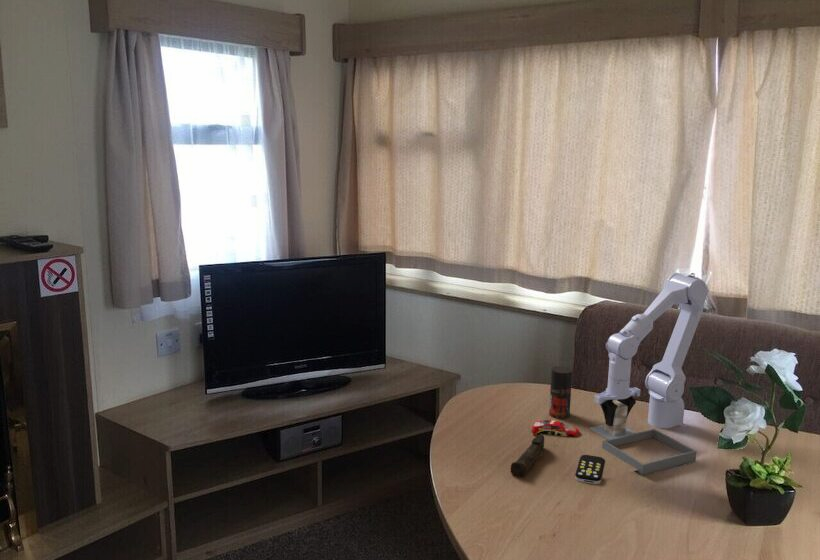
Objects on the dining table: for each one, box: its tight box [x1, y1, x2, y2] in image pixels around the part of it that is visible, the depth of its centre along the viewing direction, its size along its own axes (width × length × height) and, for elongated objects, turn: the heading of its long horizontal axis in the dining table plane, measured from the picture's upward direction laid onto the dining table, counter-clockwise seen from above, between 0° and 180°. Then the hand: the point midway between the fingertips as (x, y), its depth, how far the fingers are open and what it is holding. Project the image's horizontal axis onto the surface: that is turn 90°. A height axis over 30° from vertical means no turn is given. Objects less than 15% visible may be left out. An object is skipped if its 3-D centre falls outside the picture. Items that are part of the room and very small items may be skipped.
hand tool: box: [510, 434, 545, 478], centre depth 187 cm, size 19×4×5 cm, turn 149°
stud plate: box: [589, 423, 637, 440], centre depth 204 cm, size 10×10×4 cm
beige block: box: [604, 400, 628, 436], centre depth 203 cm, size 4×4×8 cm
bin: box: [601, 428, 697, 477], centre depth 191 cm, size 18×15×3 cm
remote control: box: [574, 454, 606, 485], centre depth 183 cm, size 6×13×2 cm, turn 160°
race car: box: [531, 419, 581, 438], centre depth 204 cm, size 13×5×4 cm, turn 76°
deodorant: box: [548, 365, 573, 420], centre depth 214 cm, size 6×6×15 cm
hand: (615, 423), depth 203 cm, fingers closed on beige block, 4 cm apart
